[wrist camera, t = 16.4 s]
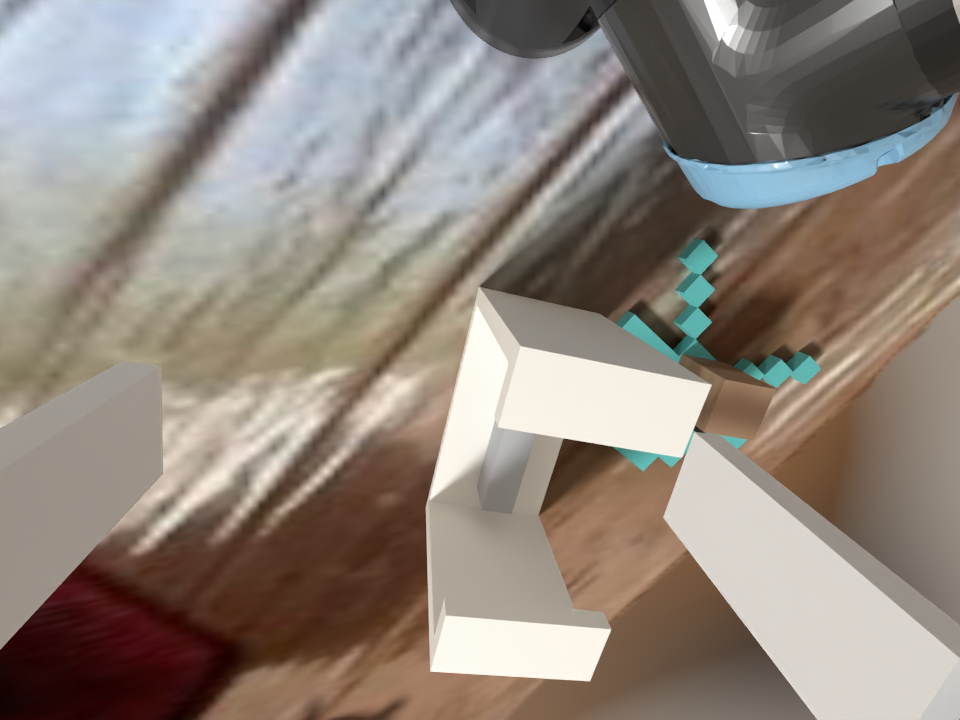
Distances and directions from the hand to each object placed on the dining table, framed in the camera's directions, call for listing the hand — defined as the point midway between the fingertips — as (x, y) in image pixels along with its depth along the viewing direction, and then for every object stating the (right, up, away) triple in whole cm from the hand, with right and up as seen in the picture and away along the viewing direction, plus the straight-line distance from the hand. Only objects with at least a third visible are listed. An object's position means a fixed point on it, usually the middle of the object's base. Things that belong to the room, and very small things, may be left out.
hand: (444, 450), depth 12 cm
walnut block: (+23, 0, +36) cm, 42 cm away
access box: (+4, -3, +36) cm, 36 cm away
